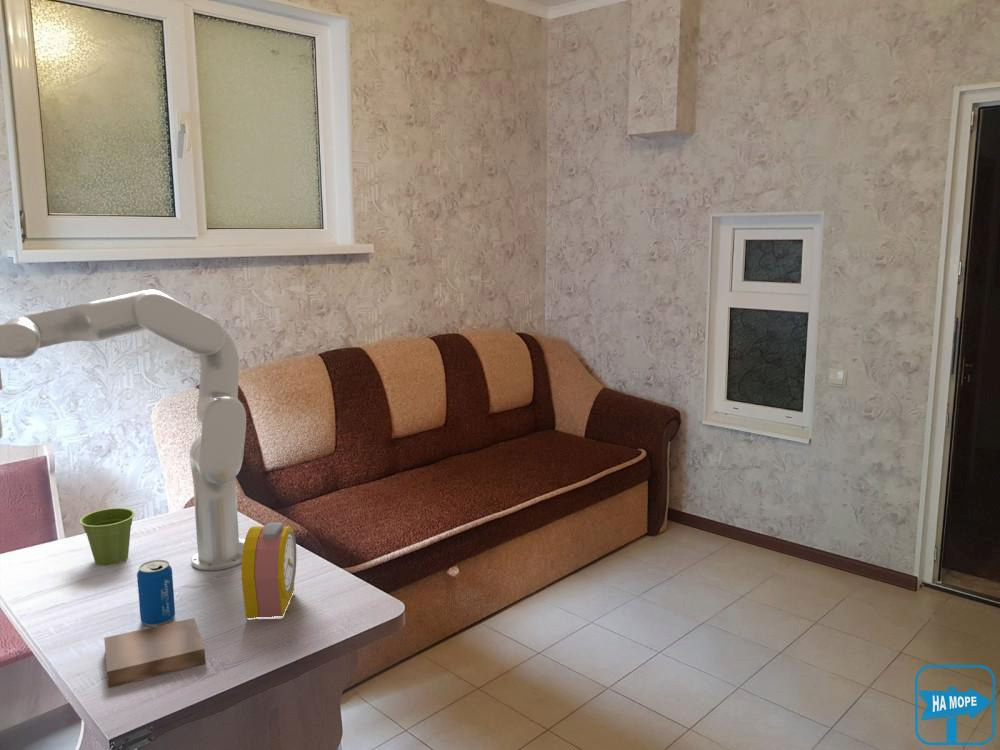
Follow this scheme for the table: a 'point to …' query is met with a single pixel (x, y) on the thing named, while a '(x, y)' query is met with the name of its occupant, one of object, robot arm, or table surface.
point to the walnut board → (153, 651)
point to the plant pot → (108, 534)
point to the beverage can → (156, 592)
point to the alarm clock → (268, 569)
